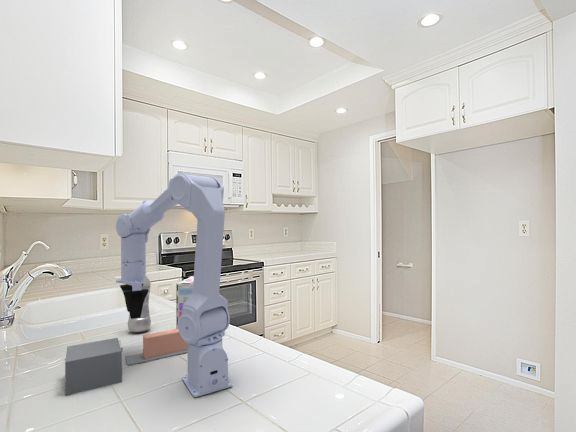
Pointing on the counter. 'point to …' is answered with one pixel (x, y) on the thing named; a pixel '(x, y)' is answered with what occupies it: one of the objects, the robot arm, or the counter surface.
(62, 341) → the counter surface
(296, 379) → the counter surface
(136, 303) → the robot arm
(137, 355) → the pad
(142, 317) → the plastic bottle
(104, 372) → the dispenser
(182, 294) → the candy box
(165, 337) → the tall peach block
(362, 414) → the counter surface
